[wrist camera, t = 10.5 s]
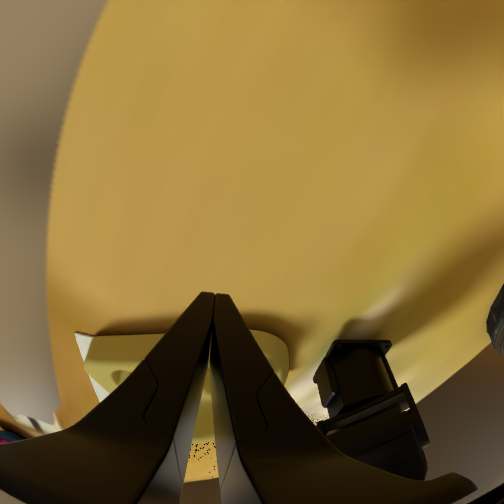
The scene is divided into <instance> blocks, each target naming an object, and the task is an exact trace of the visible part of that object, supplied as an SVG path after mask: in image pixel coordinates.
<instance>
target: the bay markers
mask: <svg viewBox="0 0 504 504" xmlns="http://www.w3.org/2000/svg"><path fill="white" fill-rule="evenodd" d="M75 337H76V340H77V343H78V346H79V349H80V352H81V355H82V358H83V361H85V358H86V355H87V352H88V349H89V346H90V343H91V340H92V339H93V338H94V336H90V335H85V334H81V333H77V332H75ZM89 377H90V379H91V382H92V384H93V387H94V389H95V392H96V394H97V396H98V399H99V401H100V402H101V401H102V400H103V399H105V398H106V397H107V396H108V395H109V393H108V392H107V391H106V390H105V389H104V388H103V387H101V386H100V385H99V384H98V383H97V382H96V381H95V380H94V379H93V378H92V377H91V376H90V375H89Z"/></svg>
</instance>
